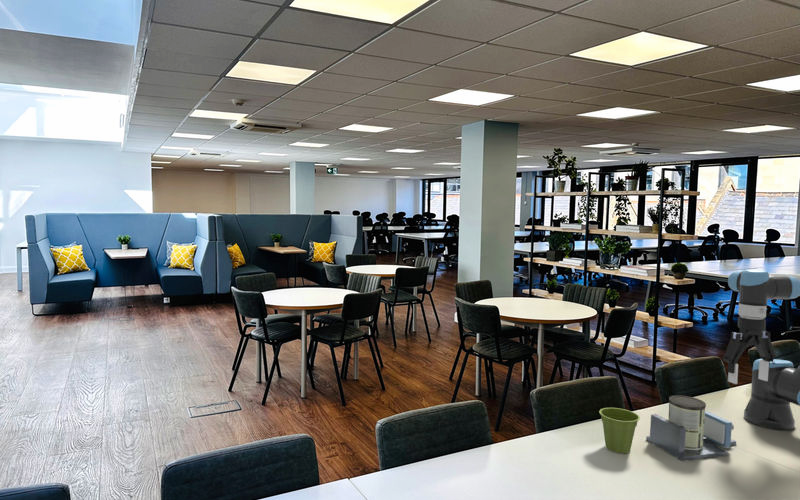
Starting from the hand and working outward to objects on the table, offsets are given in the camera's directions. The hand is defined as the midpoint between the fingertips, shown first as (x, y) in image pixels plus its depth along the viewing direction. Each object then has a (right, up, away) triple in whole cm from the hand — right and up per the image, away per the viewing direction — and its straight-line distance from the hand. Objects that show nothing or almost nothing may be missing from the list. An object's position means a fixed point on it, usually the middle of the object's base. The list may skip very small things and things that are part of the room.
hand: (747, 381), depth 168 cm
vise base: (-19, -20, -4) cm, 28 cm away
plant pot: (-46, -20, -7) cm, 51 cm away
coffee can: (-24, -19, -5) cm, 31 cm away
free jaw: (-10, -19, -1) cm, 21 cm away
